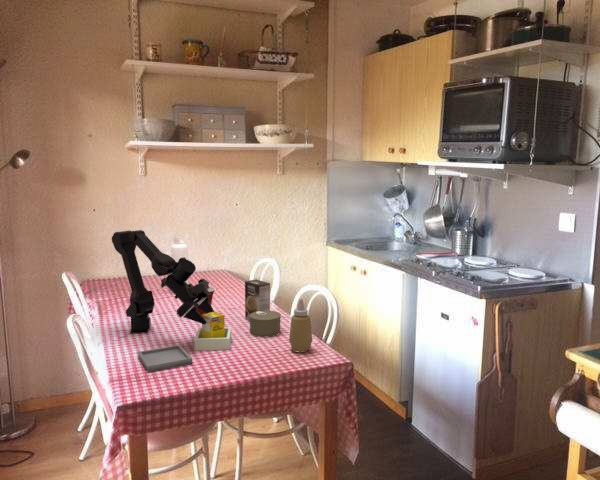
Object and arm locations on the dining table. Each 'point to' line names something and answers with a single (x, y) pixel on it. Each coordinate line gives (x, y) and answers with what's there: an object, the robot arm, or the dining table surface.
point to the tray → (164, 358)
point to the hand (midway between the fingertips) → (210, 319)
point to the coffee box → (256, 297)
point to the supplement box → (213, 325)
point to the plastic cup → (211, 290)
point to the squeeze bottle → (300, 329)
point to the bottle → (179, 250)
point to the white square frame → (212, 341)
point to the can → (265, 323)
